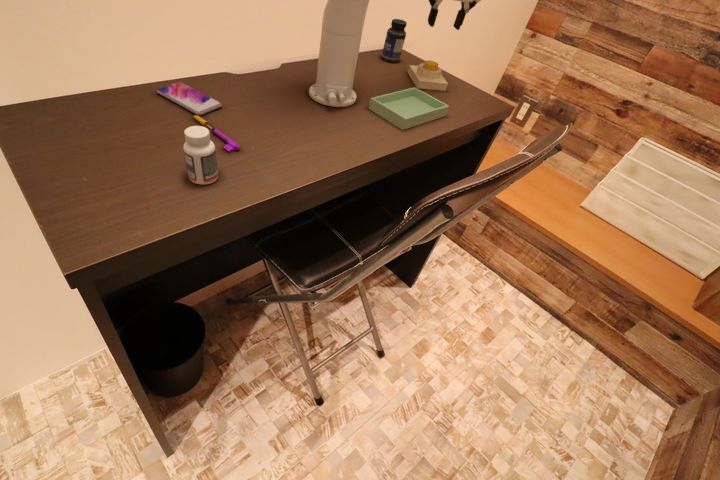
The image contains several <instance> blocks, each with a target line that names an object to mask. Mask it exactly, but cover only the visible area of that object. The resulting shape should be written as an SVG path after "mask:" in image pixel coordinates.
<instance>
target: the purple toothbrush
mask: <svg viewBox="0 0 720 480" xmlns="http://www.w3.org/2000/svg"><path fill="white" fill-rule="evenodd" d="M193 119H195V120H196V121H197V122H198V123H200V124H201V126H202V127H205V128H210V129H211V131H212V132H213V134H214V135H216V136H217V137H219V138H220V139H221V140H223V141H224V142H226V143H227V144H225V145H224V146H222V147H223V150H225V151H226V152H227V153H232V151H235V152H236V151H239V150H240V149H241V145H240V144H239V143H237V142H236V141H235V140H234V139H231V138H230V137H229V136H228V135H225V133H223V131H222V132H221V131H220V130H219V129H217V128H215V127H211V126H210V125H209V122H208V121H207V120H206V119H204V118H203V117H201V116H200V115H197V114H195V115H193Z"/></svg>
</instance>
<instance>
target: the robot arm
mask: <svg viewBox="0 0 720 480" xmlns="http://www.w3.org/2000/svg"><path fill="white" fill-rule="evenodd" d="M443 1H444V0H428V2H429V5H430V10H429V14H428V16H427V17H428V18H427V24H428V25H429V27H431V28H433V27H434V26H435V24H436V20H437V18H438V14H439V9H438V8H439V6H440V5H441V3H442V2H443ZM455 1H457V2H460V9H459V10H458V11H457V14H456V16H455V20H454V22H453V26H452V27H453V28H454V29H455V30H457V31H460V29H461V26H462V25H463V23H464V21H465V18H466V15H467V14H468V13H470V10H472V9H473V8H474V7H476V5H477V4H479V2H481V1H482V0H454V2H455ZM369 3H370V0H327V1H326V5H325V7H324V10H323V15H322V22H321V33H320V42H319V53H318V61H317V70H316V80H315V83H313V84H311V86H310V87H309V88H308V95H309V97H310V99H312V100H313V101H314V102H316V103H319V104H321V105H323V106H328V107H331V108H332V107H333V108H344V107H349V106H352V105H354V104H355V103H356V101H357V98H358V97H357V93H356V92H355V90H353V86H354V82H355V75H356V74H355V73H356V69H357V64H358V59H359V53H360V49H361V48H360V47H361V42H362V38H363V37H362V36H363V30H364V26H365V20H366V16H367V15H366V14H367V11H368V7H369Z"/></svg>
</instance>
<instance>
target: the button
mask: <svg viewBox="0 0 720 480" xmlns="http://www.w3.org/2000/svg"><path fill="white" fill-rule="evenodd" d="M424 63H425V64H424V67H423V68H425V69H427V70H431V71H436V70H437V67H439V63H438V62H437V61H434V60H425V61H424Z"/></svg>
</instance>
